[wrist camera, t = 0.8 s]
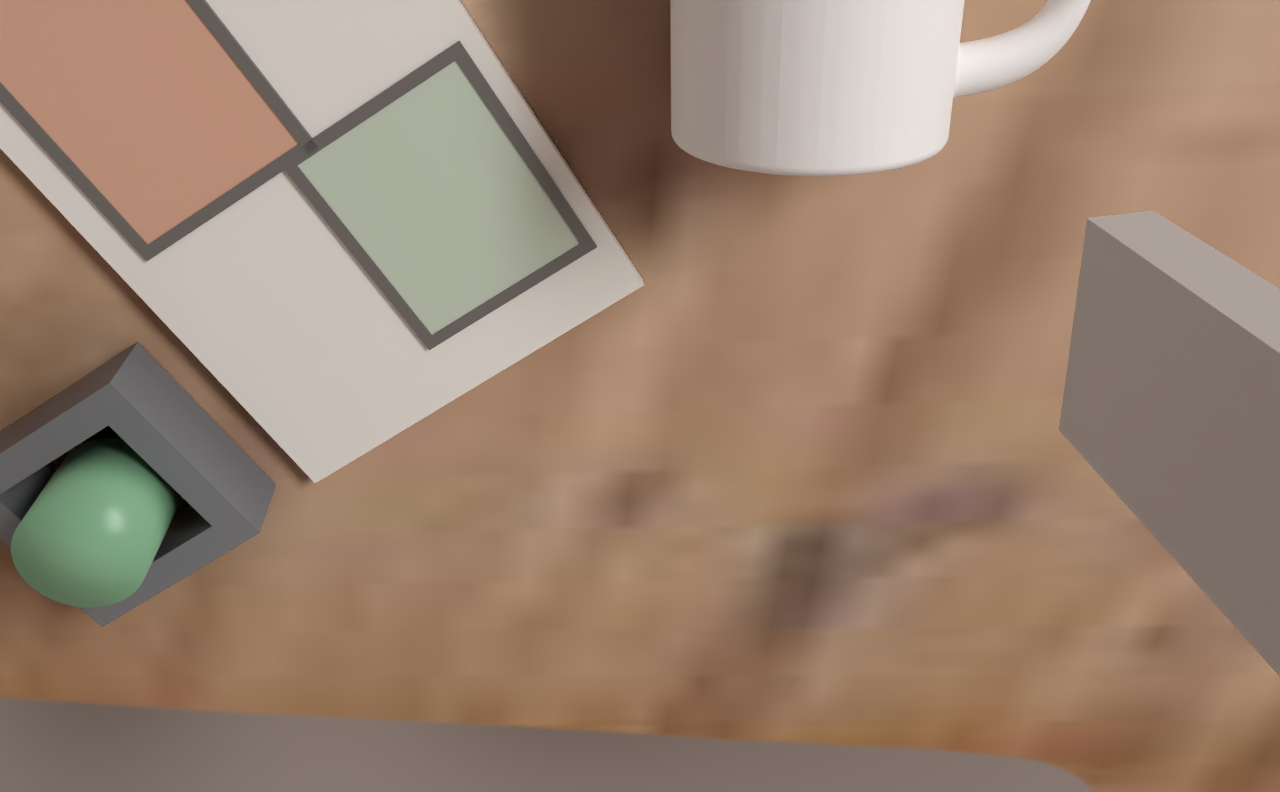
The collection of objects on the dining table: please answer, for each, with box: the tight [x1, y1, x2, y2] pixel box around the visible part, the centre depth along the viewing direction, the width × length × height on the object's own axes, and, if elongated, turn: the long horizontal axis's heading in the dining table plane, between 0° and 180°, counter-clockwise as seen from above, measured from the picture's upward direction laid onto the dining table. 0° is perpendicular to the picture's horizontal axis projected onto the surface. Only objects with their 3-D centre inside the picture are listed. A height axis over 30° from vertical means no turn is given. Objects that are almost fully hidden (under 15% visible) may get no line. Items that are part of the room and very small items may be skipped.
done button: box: [11, 438, 181, 608], centre depth 36 cm, size 4×4×4 cm
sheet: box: [0, 0, 644, 483], centre depth 33 cm, size 22×14×1 cm, turn 31°
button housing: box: [0, 342, 276, 627], centre depth 37 cm, size 7×7×3 cm
